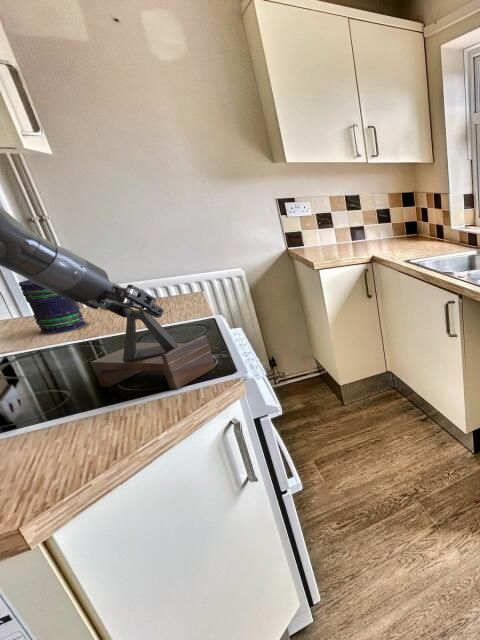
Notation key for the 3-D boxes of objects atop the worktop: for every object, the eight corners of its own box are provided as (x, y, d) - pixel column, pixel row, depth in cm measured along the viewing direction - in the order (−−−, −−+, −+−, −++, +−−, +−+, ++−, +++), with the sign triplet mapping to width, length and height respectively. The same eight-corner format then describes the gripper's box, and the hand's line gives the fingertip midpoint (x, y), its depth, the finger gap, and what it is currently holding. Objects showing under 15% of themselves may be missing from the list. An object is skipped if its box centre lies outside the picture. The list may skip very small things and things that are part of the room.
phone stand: (123, 362, 88) (101, 307, 84) (126, 353, 93) (105, 301, 88) (176, 351, 93) (158, 299, 89) (176, 343, 98) (159, 293, 93)
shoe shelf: (101, 387, 91) (86, 353, 88) (146, 365, 101) (134, 334, 98) (177, 389, 89) (165, 355, 86) (215, 367, 100) (205, 335, 97)
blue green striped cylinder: (42, 328, 129) (20, 280, 123) (86, 320, 135) (67, 274, 129) (39, 336, 122) (15, 286, 116) (85, 328, 128) (64, 279, 122)
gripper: (109, 255, 77) (181, 298, 92) (39, 255, 78) (121, 298, 93) (91, 291, 74) (168, 330, 89) (19, 290, 75) (107, 329, 91)
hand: (144, 313), depth 91 cm, fingers open, 7 cm apart
